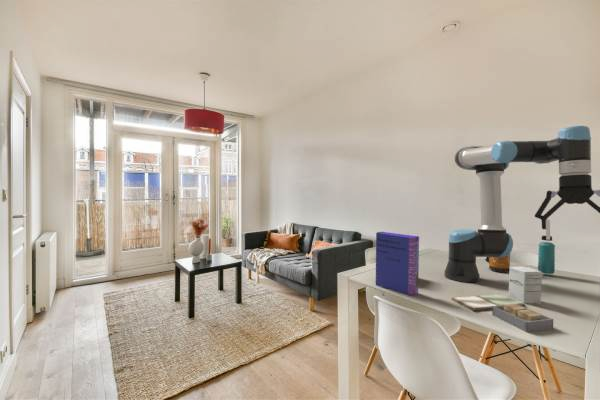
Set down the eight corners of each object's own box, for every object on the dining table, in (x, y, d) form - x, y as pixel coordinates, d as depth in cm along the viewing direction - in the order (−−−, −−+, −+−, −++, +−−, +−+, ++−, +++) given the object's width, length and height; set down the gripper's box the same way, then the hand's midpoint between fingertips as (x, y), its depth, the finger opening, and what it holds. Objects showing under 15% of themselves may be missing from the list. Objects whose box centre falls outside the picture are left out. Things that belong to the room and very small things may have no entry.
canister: (510, 274, 146) (511, 235, 146) (484, 270, 152) (485, 233, 151) (508, 269, 154) (509, 232, 153) (484, 266, 160) (485, 231, 159)
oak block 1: (503, 316, 97) (503, 304, 97) (513, 315, 98) (513, 303, 98) (514, 321, 93) (515, 309, 93) (524, 320, 94) (525, 308, 94)
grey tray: (492, 316, 98) (492, 306, 98) (516, 313, 100) (516, 303, 100) (526, 333, 86) (526, 322, 86) (553, 330, 88) (553, 319, 88)
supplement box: (507, 297, 115) (508, 266, 114) (524, 296, 116) (525, 266, 115) (523, 305, 108) (524, 271, 107) (541, 304, 108) (542, 271, 108)
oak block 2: (517, 322, 92) (517, 310, 92) (527, 321, 93) (528, 309, 93) (529, 328, 88) (530, 316, 88) (540, 327, 89) (540, 314, 89)
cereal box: (418, 293, 120) (419, 236, 119) (412, 296, 116) (413, 237, 115) (381, 282, 133) (382, 231, 132) (375, 285, 129) (376, 232, 128)
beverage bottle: (557, 277, 141) (559, 237, 140) (542, 276, 142) (543, 236, 142) (549, 273, 147) (550, 235, 147) (534, 272, 149) (535, 234, 148)
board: (451, 300, 111) (451, 297, 111) (498, 296, 116) (498, 293, 116) (474, 313, 101) (474, 308, 100) (525, 307, 105) (525, 303, 105)
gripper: (523, 177, 99) (524, 238, 98) (634, 170, 81) (637, 246, 80) (528, 178, 104) (528, 237, 103) (633, 172, 86) (635, 243, 85)
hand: (576, 241), depth 92 cm, fingers open, 13 cm apart
